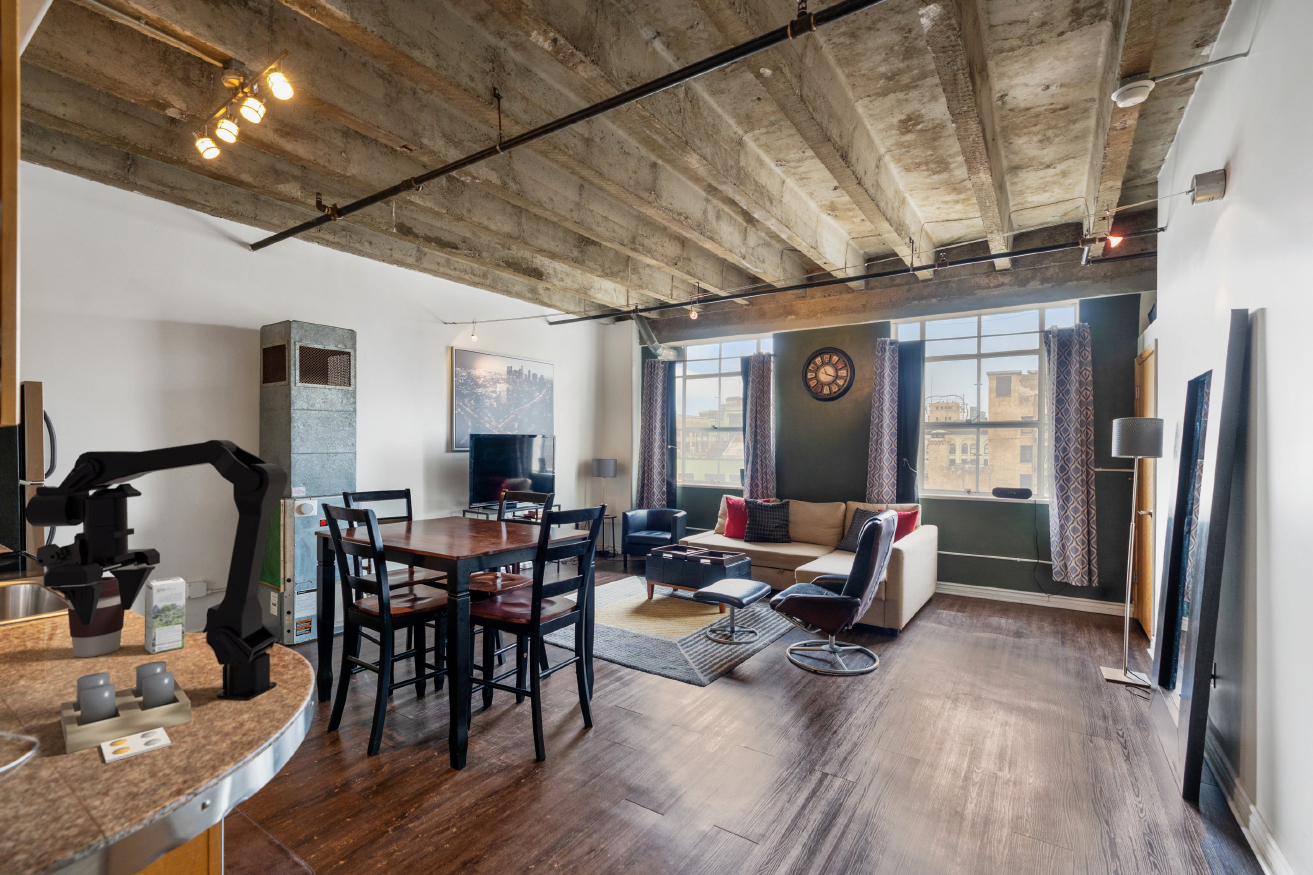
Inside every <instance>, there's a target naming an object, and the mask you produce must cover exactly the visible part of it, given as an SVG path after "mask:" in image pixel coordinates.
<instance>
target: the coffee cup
mask: <svg viewBox="0 0 1313 875" xmlns="http://www.w3.org/2000/svg"><path fill="white" fill-rule="evenodd" d="M96 582H104V584H103V587H102V591H101V594H100V597H99V601H98V604H97V608H96V611H95V615H94V618H93V620H92V623H91V624H90V625H82V623H81V621H80V619H79V617H78V615H77V613H76V611H75V609H74V607H73V605H72V603H71V602H70V600H69V599H68V597H67V596H66V595H65V594H63V595H64V600H66V601H68V608H67V614H68V615H67V616H68V625H69V627H68V628H69V635H70V637H71V643H72V655H73V656H74V657H76V658H92V657H98V656H103V655H107V654H110V653H113V652H115V651H118V650H119V649H120V647H121V641H122V630H123V628H124V622H125V621H124V620H125V611H126V610H122V606H121V601H120V593H119V585H118V580H117V578H116V577H114V576H102V577H101V579H100V581H96Z"/></svg>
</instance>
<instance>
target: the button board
mask: <svg viewBox="0 0 1313 875" xmlns="http://www.w3.org/2000/svg"><path fill="white" fill-rule="evenodd" d="M60 716H61V717H60V724H61V728H62V735H63V740H64V745H65V746H64V747H65V750H66V752H65V753H66V754H71V753H75V752H78V751H79V752H80V751H82V750H86V749H90V748H95V747H98V746H101V743H104V742H108V741H111V740H115V739H119V738H123V737H127V736H131V735H134V734H138V733H142V732H146V731H150V730H154V729H157V728H161V727H163V729H166V728H167V729H168V728H170V727H175V726H179V725H182V724H186V723H189V722H192V702H191V700H190V699H189V697H188V696H187V694H186V693H185V691H184V690H183V688H182V687H181V686H180V684H179V683H178V681H177V680H176V679H175V678H174V701H173V702H171V703H169V704H167V705H164V706H160V707H155V708H144V707H143V695H137V694H136V686H134V687H130V688H125V689H121V690H115V715H114V716H112V717H110V718H108V719H105V720H102V721H98V722H92V723H82V722H81V709H79V708H77V699H76V700H71V701H65V702H61V703H60Z"/></svg>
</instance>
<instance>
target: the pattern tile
mask: <svg viewBox="0 0 1313 875" xmlns="http://www.w3.org/2000/svg"><path fill="white" fill-rule="evenodd" d="M170 746H172V741H171V740H170V738H169V736H168V734H167V732H166V730H165V728H163V727H161V728H157V729H154V730H150V731H146V732H142V733H138V734H134V735H131V736H127V737H123V738H119V739H115V740H111V741H108V742H104V743H101V745H100V749H101V751H102V755H103V759H104V761H105V764H109V763H112V762H116V761H119V760H122V759H126V758H127V759H128V758H130V757H133V756H134V757H135V756H137V755H141V754H144V753H148V752H152V751H156V750H159V749H163V748H166V747H170Z"/></svg>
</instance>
